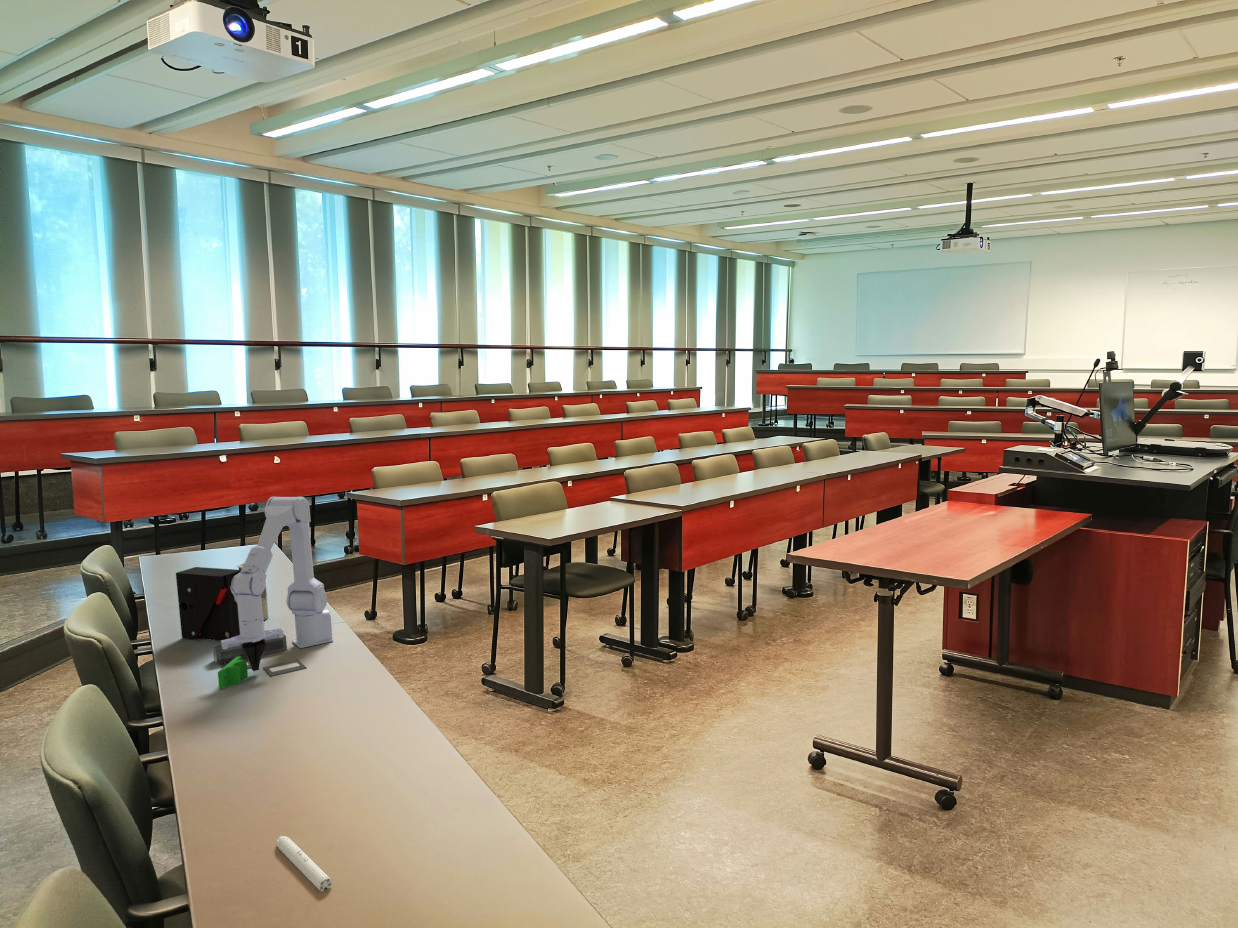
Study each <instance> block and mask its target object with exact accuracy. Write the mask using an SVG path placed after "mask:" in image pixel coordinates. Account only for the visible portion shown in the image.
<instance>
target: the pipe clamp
mask: <svg viewBox="0 0 1238 928" xmlns="http://www.w3.org/2000/svg"><path fill="white" fill-rule="evenodd" d="M248 677H249V673H248V669H247V660H244V659H243V660H241V657H236V658H235V659H233V660H232V661H231V662H229V663H228V664H227V665H226V666H225V667H223V668H222V667H221V669H220V670H219V671H217V680H218V689H219V690H225V689H226V688H227V687H228V686H230V685H241V683H242V680H241V679H245V678H246V679H247V678H248Z"/></svg>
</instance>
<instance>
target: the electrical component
mask: <svg viewBox="0 0 1238 928" xmlns="http://www.w3.org/2000/svg"><path fill="white" fill-rule="evenodd" d="M240 572H241V570H239V569H235V568H233V569H231V568H218V567H217V568H216V567H203V566H195V567H191V568H188V569H187V568H186V569H185V570H181V571H177V572H175V580H176V581H175V582H176V589H177V601H178V610H179V623H180V630H181V631H180V632H181V640H182V639H183V640H206V641H217V642H218V641H219V642H221V640H226V639H229V638H232V637H236V636H239V635H240V628H239V616H238V605H237V602H236V601H235V597H234V594H233V593H232V592H231V589H230V586H231V582H232V579H233V577H234V576H235V575H238V573H240Z"/></svg>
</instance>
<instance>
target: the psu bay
mask: <svg viewBox="0 0 1238 928" xmlns="http://www.w3.org/2000/svg"><path fill="white" fill-rule="evenodd" d="M265 642H266V647H265V649H264V651H263V654H262V656H265V655H269V654H274V653H278V652H283V651H287V650H288V647H287V646H288V645H287V644H288V643H287V636H286V634H284V633H283V637H282V638H279V637H278V638H273V639H268V640H265ZM212 651H213V652H212V653H213V662H215V664H216V663H217V664H219V665H220V664H223V663H224V664H225V663H227V662H229V663H230V662H231V661H232V660H233V659H235V658H236V657H241V660H244V659H248V657H247V655H246V653H245V651H244V650H243V648H242V646H241V645H239V646H235V647H230V648H228V649H224V650H223V649H222V644H218V645H213V646H212ZM217 664H216V665H217Z"/></svg>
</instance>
